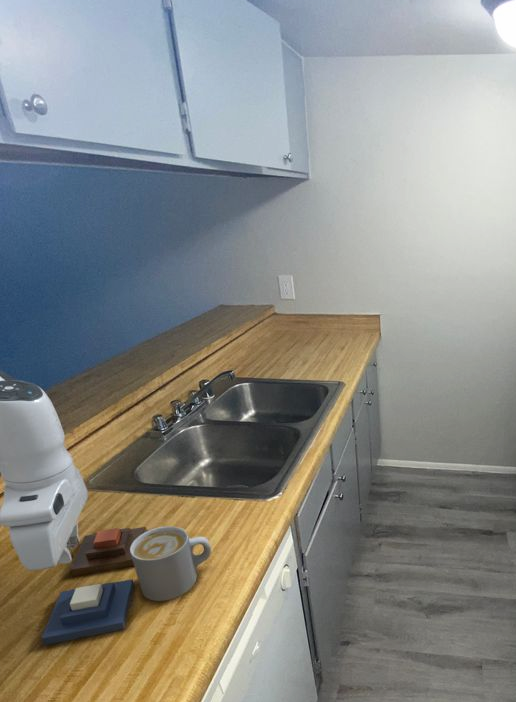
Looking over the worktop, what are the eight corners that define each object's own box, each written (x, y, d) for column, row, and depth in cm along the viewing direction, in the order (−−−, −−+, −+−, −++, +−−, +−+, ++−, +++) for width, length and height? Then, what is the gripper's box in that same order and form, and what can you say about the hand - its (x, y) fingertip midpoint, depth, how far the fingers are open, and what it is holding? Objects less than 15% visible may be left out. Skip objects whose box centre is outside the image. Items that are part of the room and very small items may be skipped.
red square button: (95, 549, 96) (93, 542, 96) (100, 537, 100) (97, 530, 99) (117, 546, 98) (115, 539, 97) (121, 534, 101) (119, 527, 100)
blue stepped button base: (44, 645, 79) (37, 630, 78) (63, 598, 89) (58, 584, 87) (124, 629, 83) (119, 615, 81) (134, 585, 92) (130, 571, 91)
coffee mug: (140, 606, 88) (127, 565, 83) (143, 571, 96) (132, 532, 91) (216, 588, 92) (208, 548, 88) (213, 556, 100) (206, 518, 96)
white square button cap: (72, 611, 82) (69, 604, 81) (78, 595, 86) (75, 587, 85) (98, 606, 83) (95, 599, 83) (103, 590, 87) (101, 583, 86)
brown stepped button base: (72, 576, 94) (67, 562, 92) (86, 541, 103) (82, 529, 101) (139, 565, 97) (135, 551, 96) (147, 532, 106) (144, 520, 105)
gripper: (42, 454, 81) (66, 519, 87) (-8, 525, 64) (26, 600, 70) (85, 450, 83) (105, 514, 89) (47, 518, 65) (75, 591, 72)
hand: (70, 553), depth 79 cm, fingers open, 3 cm apart
